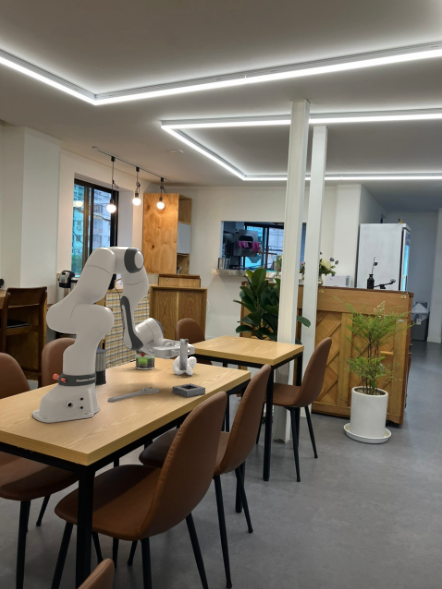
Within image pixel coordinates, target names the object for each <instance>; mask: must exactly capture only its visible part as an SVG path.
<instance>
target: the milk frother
mask: <svg viewBox="0 0 442 589" xmlns="http://www.w3.org/2000/svg"><path fill="white" fill-rule="evenodd" d="M106 354H107V350H106V349H103V348H101V349H100V348H97V350H96V358H95V372H96V386H100V385H105V384H106V383H107V380H106V379H107V377H106V372H107V371H106V369H107V367H106V366H107V363H106V362H107V360H106V358H107V355H106Z"/></svg>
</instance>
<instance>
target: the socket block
mask: <svg viewBox="0 0 442 589" xmlns="http://www.w3.org/2000/svg"><path fill="white" fill-rule="evenodd" d="M171 389H172V390H171V391H172V393H173V394H177V395H179V396H182V397H184V398H190V397H191V398H192V397H195V396H200V395H205V394H206V387H203V386H200V385H198V384H194V383H191V382H190V383H185V384H180V385H174V386H172V388H171Z"/></svg>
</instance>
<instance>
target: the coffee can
mask: <svg viewBox="0 0 442 589" xmlns="http://www.w3.org/2000/svg"><path fill="white" fill-rule="evenodd" d="M155 368H156V357H155V356H151V355H148V354H146V353H145V352H143V351H142V350H141V349H140V350H138V351H135V369H138V370H153V369H155Z"/></svg>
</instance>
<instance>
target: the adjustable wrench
mask: <svg viewBox="0 0 442 589" xmlns="http://www.w3.org/2000/svg"><path fill="white" fill-rule="evenodd" d="M152 388H153V387H152V386H149V387H148V386H147V387H144V388H141V389H140V390H138V391H133V392H130V393H125V394H121V395H117V396H116V395H115V396H113V397H109V398H107V403H108V402H109V403H115V402H118V401H123V400H127V399H130V398H134V397H139V396H143V395H150V394H153V395H154V394H157V393H159V392H160V388H159V387H157V388H154V389H152Z"/></svg>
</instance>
